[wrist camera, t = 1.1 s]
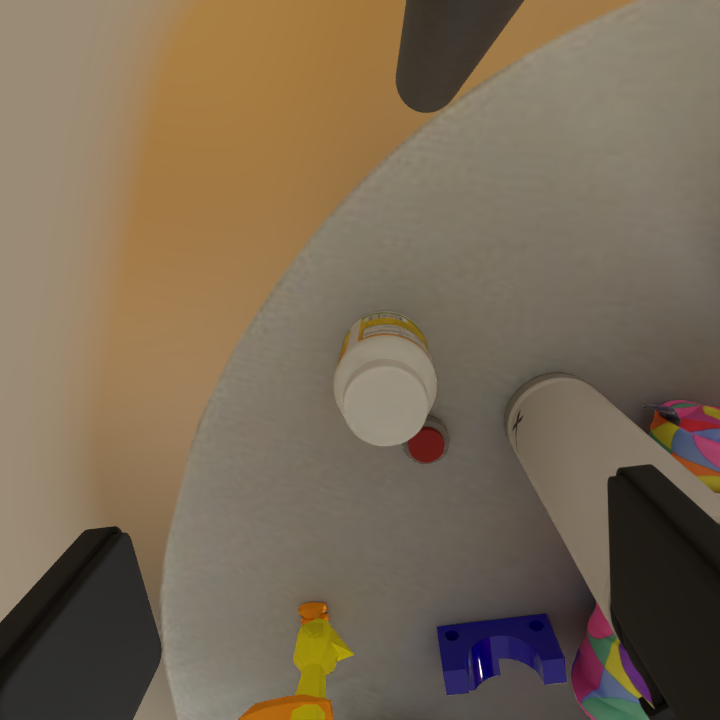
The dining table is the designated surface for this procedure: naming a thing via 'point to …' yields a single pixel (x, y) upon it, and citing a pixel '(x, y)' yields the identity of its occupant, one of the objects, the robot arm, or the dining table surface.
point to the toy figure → (307, 671)
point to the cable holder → (498, 650)
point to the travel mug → (590, 480)
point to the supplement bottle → (385, 379)
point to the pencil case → (601, 647)
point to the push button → (428, 442)
